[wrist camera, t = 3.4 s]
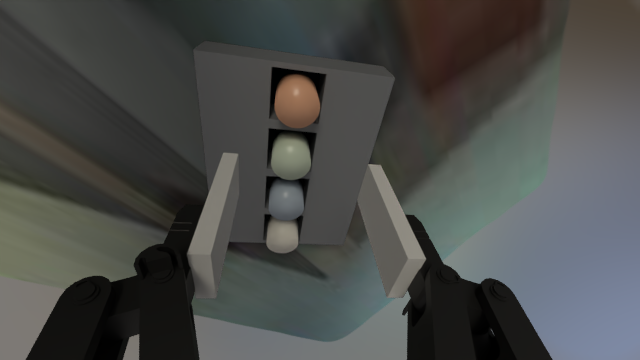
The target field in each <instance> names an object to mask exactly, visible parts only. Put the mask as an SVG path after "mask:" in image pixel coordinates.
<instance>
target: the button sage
mask: <svg viewBox="0 0 640 360" xmlns="http://www.w3.org/2000/svg"><path fill="white" fill-rule="evenodd" d="M271 166H272V169H273V171H274V173H275V174H276V175H277V176H279V177H281V178H283V179H286V180H296V179H299V178H302V177H303V176H305V175H306V174H307V173H308V172H309V170H310V167H311V158H310V150H309V143H308V140H307V138H306V137H305V136H304V135H303V134H302V133H300V132H298V131H293V130H286V131H283V132H281V133H279V134H278V135H277V136H276V137H275V139H274V141H273V147H272V159H271Z"/></svg>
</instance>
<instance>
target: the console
mask: <svg viewBox="0 0 640 360" xmlns="http://www.w3.org/2000/svg"><path fill="white" fill-rule="evenodd" d="M193 53H194V62H195V72H196V81H197V90H198V99H199V109H200V118H201V127H202V136H203V146H204V155H205V164H206V173H207V183H208V192H209V191H210V189H211V186H212V183H213V180H214V177H215V175H216V172H217V169H218V166H219V163H220V161H221V158H222V155H223V153H235V154H238V162H239V197H238V201H237V206H236V210H235V215H234V219H233V224H232V228H231V233H230V238H229V242H252V243H266V241H267V229H268V220H265V214H270V212H269V195H270V188H267V176H275V177H279V176H277V175H276V174H275V173H274V171H273V169H272V166H271V159H272V151H270V150H269V133H270V128H272V129H282V130H293V131H303V132H312V135H311V142H310V148H309V150H310V158H311V167H310V170H309V172H308V173H307V174H306V175H305V176H303V177H302V178H304V179H305V181H304V188H303V201H304V210H303V213H302V214H301V215H300V216H299V221H297V222H298V244H322V245H344V242H345V238H346V235H347V232H348V229H349V225H350V222H351V219H352V216H353V212H354V209H355V206H356V203H357V199H358V196H359V192H360V189H361V186H362V183H363V179H364V176H365V173H366V170H367V166H368V164H369V161H370V157H371V154H372V151H373V148H374V144H375V141H376V138H377V135H378V131H379V128H380V125H381V122H382V118H383V115H384V112H385V109H386V105H387V102H388V99H389V96H390V92H391V89H392V86H393V83H394V80H395V77H394V76H393V75H392V74H391V73H390V72H389V71H388V70H387V69H385V68H384V67H383V66H377V65H370V64H363V63H356V62H349V61H343V60H336V59H329V58H322V57H315V56H308V55H301V54H294V53H287V52H280V51H273V50H266V49H260V48H253V47H246V46H239V45H232V44H225V43H218V42H211V41H204V42H202V43H201V44H200V45H199V46H197V47H196V48H195V49H194V50H193ZM273 67H278V68H285V69H292V70H300V71H307V72H315V73H321V76H320V82H319V89H318V98H319V102H320V112H319V115H318V117H317V118H316V120H315V121H314V122H313V123H312V124H310V125H309V126H307V127H304V128H291V127H289V126H286V125H285V124H283V123H282V122H281V121H280V120H279V119H278V117H277V115H276V112H275V104H271V94H272V74H273Z"/></svg>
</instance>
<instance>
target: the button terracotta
mask: <svg viewBox="0 0 640 360" xmlns="http://www.w3.org/2000/svg"><path fill="white" fill-rule="evenodd" d="M275 112H276V115H277V117H278V119H279V120H280V121H281V122H282V123H283V124H285V125H286V126H289V127H291V128H304V127H307V126H309V125H310V124H312V123H313V122H314V121H315V120H316V118H317V117H318V115H319V112H320V102H319V98H318V94H317V90H316V86H315V84H314V82H313V81H312V80H311V78H309V77H308V76H307V75H305V74H302V73H296V72H295V73H290V74H287V75H285V76H284V77H283V78H282V79H281V80H280V81H279V83H278V85H277V88H276V96H275Z"/></svg>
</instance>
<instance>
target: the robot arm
mask: <svg viewBox="0 0 640 360" xmlns="http://www.w3.org/2000/svg"><path fill="white" fill-rule="evenodd" d="M238 197H239V162H238V154H235V153H223V155H222V158H221V161H220V163H219V166H218V169H217V172H216V175H215V177H214V180H213V183H212V186H211V189H210V191H209V194H208V197H207V200H206V202H205V205H186V206H184V207H183V208H182V209H181V210H180V211H179V212H178V213H177V215H176V218H175V220H174V223H173V224H172V226H171V228H170V231H169V233H168V235H167V237H166V239H165V241H164V244H157V245H154V246H151V247H148V248H147V249H145V250H144V251H142V252H141V253H140V254H139V255H138V257H137V258H136V259H135V263H134V267H135V270H136V272H137V275H136V276H133V277H130V278H126V279H122V280H118V281H114V282H110V281H109V279H107V278H105V277H103V276H91V277H87V278H83V279H81V280H79V281H77V282H75V283H74V284H72V285H71V286H70V287H68V288H67V289H66V290H65V291H64V293H63V294H62V295H61V296H60V298H59V300H58V301H57V303H56V305H55V307H54V309H53V311H52V312H51V314H50V316H49V318H48V320H47V322H46V324H45V325H44V327H43V329H42V331H41V333H40V335H39V336H38V338H37V340H36V342H35V344H34V345H33V347H32V349H31V351H30V353H29V355H28V357H27V358H26V360H123V357H124V353H125V350H126V346H127V343H128V340H129V337H131V336H134V335H137V334H139V343H140V344H139V360H199V353H198V345H197V338H196V331H195V324H194V317H193V309H192V304H191V302H192V299H193V296H194V292H195V296H196V299H199V298H216V297H217V292H218V287H219V283H220V278H221V274H222V269H223V265H224V260H225V256H226V251H227V247H228V242H229V238H230V233H231V228H232V224H233V219H234V215H235V210H236V206H237V201H238ZM357 201H358V204H359V208H360V211H361V214H362V218H363V221H364V224H365V227H366V231H367V234H368V237H369V240H370V244H371V247H372V250H373V253H374V257H375V260H376V263H377V266H378V270H379V273H380V276H381V279H382V283H383V286H384V289H385V293H386V296H387V298H400V297H401V298H402V297H404V295H405V294H406V292H407V290H408V292H409V295H410V297H411V299H410V300H409V302H408V304H407V305H406V307H405V308H404V310H403V313H402V315H405V314H406V313H407V311H408V333H407V334H408V335H407V336H408V337H407V338H408V339H407V360H552V358H551V357H550V355H549V353H548V351H547V350H546V348H545V346H544V344H543V343H542V341H541V339H540V338H539V336H538V334H537V333H536V331H535V329H534V327H533V326H532V324H531V322H530V320H529V319H528V317H527V316H526V314H525V312H524V310H523V309H522V307H521V305H520V303H519V302H518V300H517V299H516V297H515V295H514V294H513V292H512V291H511V290H510V289H509V288H508V287H507V286H506V285H505V284H503V283H502V282H500V281H498V280H495V279H491V278H489V279H485V280H484V281H482V282H481V284H477V283H474V282H471V281H467V280H464V279H462V278H460V276H459V275H458V273H457V272H456V271H455V270H453V269H452V268H451V267H449V266H447V265H444V264H443V262H442V260H441V258H440V256H439V254H438V253H437V251H436V249H435V247H434V245H433V243H432V241H431V240H430V239H429V236H428V234H427V232H426V230H425V228H424V227H423V225H422V223H421V222H420V221H419V220H418V219H417V218H416V217H415V216H414V215H405V214H404V212H403V210H402V208H401V206H400V204H399V202H398V200H397V198H396V196H395V194H394V192H393V190H392V188H391V186H390V183H389V181H388V179H387V177H386V175H385V173H384V171H383V169H382V167H381V165H372V164H368V166H367V170H366V173H365V176H364V179H363V183H362V186H361V189H360V192H359V196H358V199H357ZM491 329H492V331H493V333H494V334H493V333H492V331H491ZM494 335H495V336H494Z"/></svg>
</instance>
